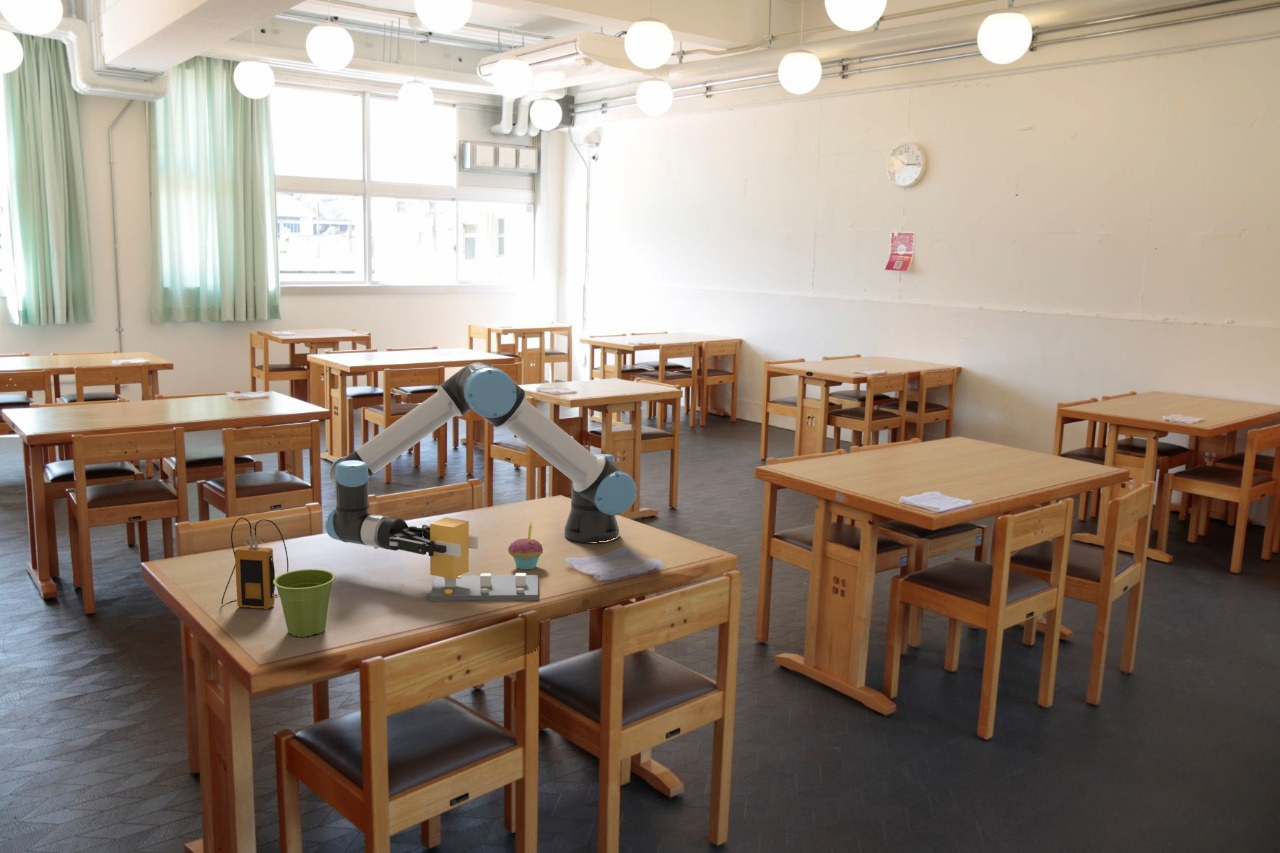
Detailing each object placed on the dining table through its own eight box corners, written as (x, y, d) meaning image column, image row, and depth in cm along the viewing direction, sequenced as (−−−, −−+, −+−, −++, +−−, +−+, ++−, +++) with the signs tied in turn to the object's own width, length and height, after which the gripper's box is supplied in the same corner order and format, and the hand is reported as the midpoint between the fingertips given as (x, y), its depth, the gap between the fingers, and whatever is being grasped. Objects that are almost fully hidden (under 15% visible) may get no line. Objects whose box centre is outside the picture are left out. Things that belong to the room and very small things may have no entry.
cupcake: (549, 567, 247) (550, 520, 245) (523, 574, 241) (524, 526, 238) (527, 559, 252) (527, 513, 250) (501, 566, 246) (501, 519, 244)
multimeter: (305, 595, 222) (302, 509, 219) (285, 611, 212) (282, 521, 209) (242, 591, 223) (239, 505, 220) (220, 607, 214) (215, 517, 210)
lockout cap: (446, 567, 231) (446, 517, 229) (468, 571, 229) (468, 521, 227) (430, 574, 226) (430, 523, 224) (453, 578, 223) (453, 527, 221)
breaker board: (537, 579, 237) (537, 564, 236) (538, 599, 223) (538, 584, 223) (435, 580, 234) (435, 565, 234) (429, 601, 221) (429, 585, 220)
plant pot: (273, 624, 205) (271, 572, 203) (333, 617, 209) (331, 566, 207) (277, 645, 194) (275, 590, 192) (339, 638, 199) (338, 584, 197)
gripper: (410, 538, 242) (491, 551, 233) (359, 558, 225) (443, 574, 216) (410, 508, 241) (491, 521, 232) (358, 526, 224) (443, 541, 215)
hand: (468, 546), depth 224 cm, fingers closed on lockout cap, 6 cm apart
